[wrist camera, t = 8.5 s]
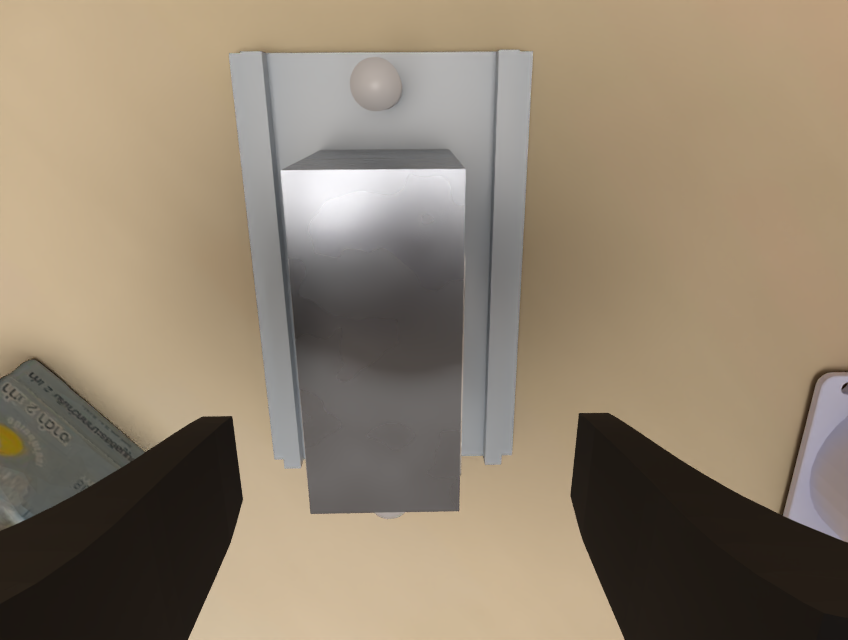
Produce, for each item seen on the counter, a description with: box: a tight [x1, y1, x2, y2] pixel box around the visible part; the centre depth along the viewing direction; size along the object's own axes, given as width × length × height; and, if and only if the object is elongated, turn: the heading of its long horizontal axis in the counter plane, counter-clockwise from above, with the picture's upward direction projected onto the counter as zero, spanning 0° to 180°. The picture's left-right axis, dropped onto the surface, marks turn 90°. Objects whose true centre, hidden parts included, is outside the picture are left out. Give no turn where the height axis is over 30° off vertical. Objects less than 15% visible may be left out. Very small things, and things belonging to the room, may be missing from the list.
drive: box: [281, 149, 466, 514], centre depth 17 cm, size 4×9×6 cm, turn 0°
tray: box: [229, 50, 533, 519], centre depth 18 cm, size 9×14×5 cm, turn 0°
